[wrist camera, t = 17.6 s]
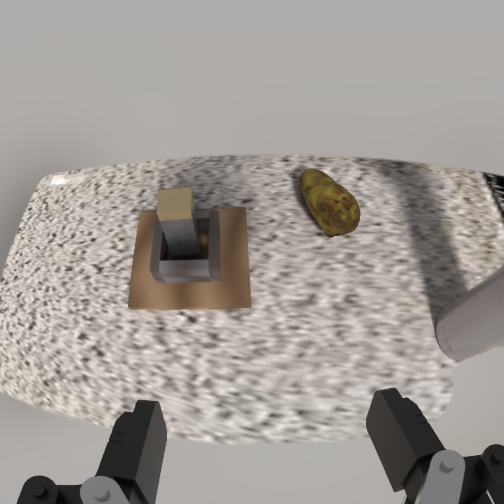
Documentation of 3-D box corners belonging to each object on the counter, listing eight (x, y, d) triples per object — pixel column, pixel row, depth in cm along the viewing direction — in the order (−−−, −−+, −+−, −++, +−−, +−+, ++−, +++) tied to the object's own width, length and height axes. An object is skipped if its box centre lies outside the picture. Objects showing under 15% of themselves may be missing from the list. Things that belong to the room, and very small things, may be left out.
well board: (245, 211, 46) (246, 190, 42) (250, 307, 39) (252, 293, 35) (142, 215, 45) (133, 195, 41) (130, 309, 38) (117, 295, 34)
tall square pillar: (201, 244, 42) (191, 187, 32) (202, 264, 41) (190, 210, 30) (176, 246, 42) (159, 189, 31) (176, 265, 40) (156, 212, 30)
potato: (344, 186, 50) (357, 153, 43) (351, 253, 44) (370, 222, 37) (296, 180, 50) (304, 145, 43) (296, 248, 44) (306, 215, 37)
